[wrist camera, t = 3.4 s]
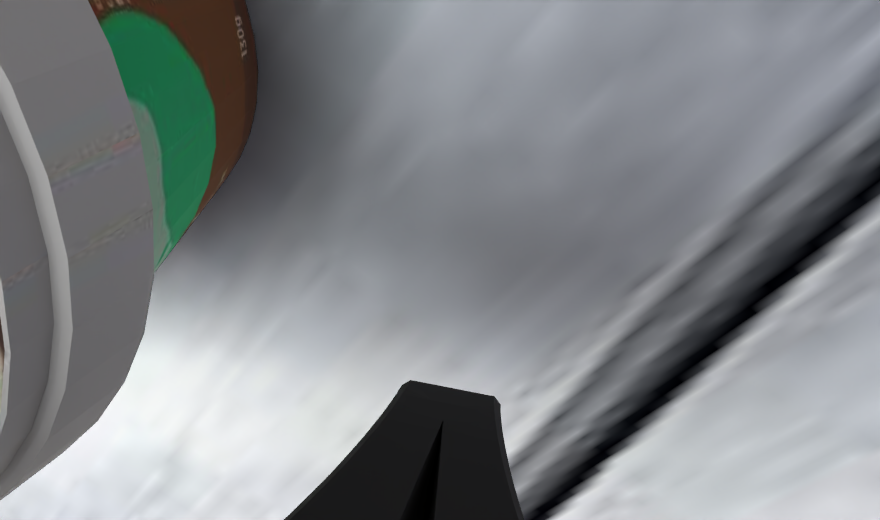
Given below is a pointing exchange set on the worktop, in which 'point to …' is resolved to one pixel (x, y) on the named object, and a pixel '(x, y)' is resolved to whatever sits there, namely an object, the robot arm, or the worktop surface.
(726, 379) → the worktop surface
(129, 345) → the food container
